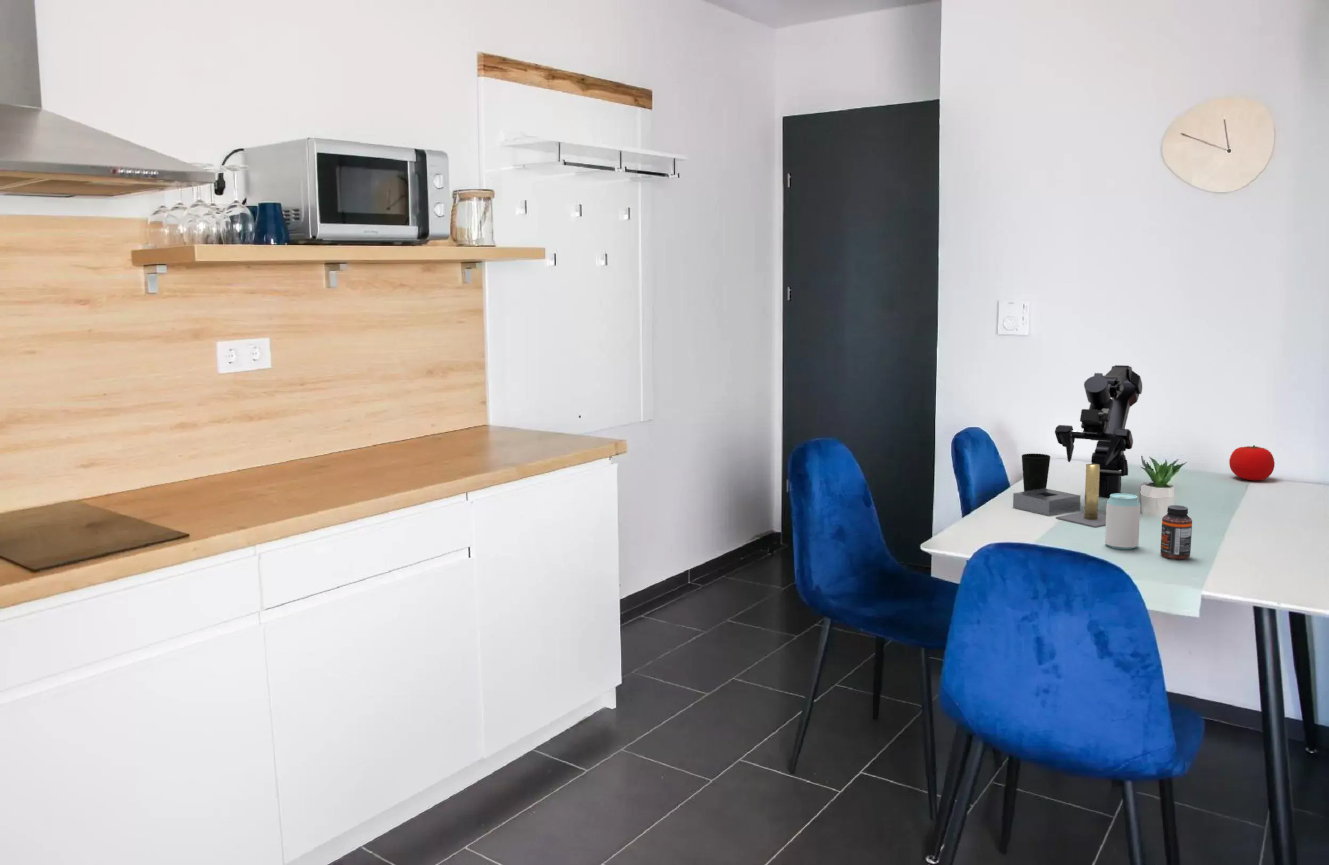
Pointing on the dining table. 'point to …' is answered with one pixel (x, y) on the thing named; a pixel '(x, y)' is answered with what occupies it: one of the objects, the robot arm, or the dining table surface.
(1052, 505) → the grey square hole block
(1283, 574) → the dining table surface
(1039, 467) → the cup
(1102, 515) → the mat
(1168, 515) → the supplement bottle
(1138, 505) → the can
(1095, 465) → the pin
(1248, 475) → the tomato
